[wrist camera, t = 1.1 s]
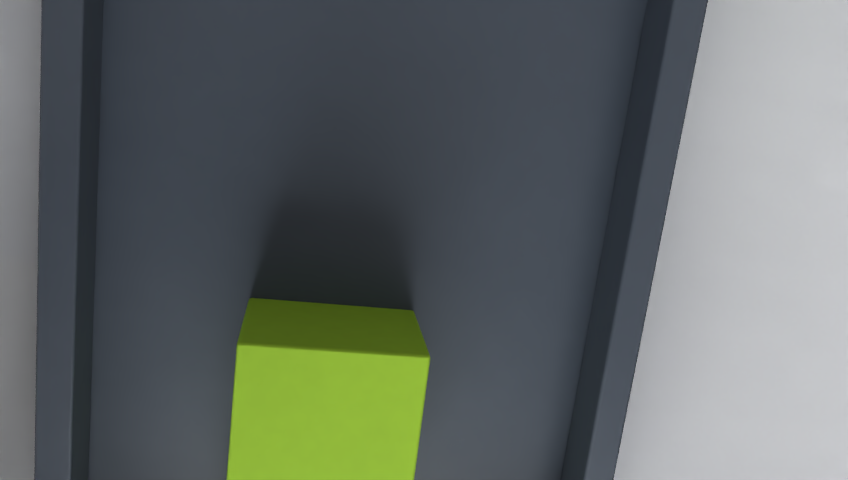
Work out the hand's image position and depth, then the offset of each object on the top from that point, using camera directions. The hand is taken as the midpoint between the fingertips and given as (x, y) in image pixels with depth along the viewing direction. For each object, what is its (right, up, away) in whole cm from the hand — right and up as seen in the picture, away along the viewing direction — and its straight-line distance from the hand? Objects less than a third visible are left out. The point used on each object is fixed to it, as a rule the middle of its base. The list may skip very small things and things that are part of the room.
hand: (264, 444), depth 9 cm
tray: (0, +3, +10) cm, 10 cm away
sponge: (-1, -2, +10) cm, 11 cm away
